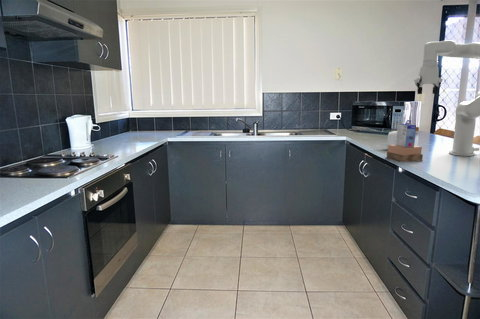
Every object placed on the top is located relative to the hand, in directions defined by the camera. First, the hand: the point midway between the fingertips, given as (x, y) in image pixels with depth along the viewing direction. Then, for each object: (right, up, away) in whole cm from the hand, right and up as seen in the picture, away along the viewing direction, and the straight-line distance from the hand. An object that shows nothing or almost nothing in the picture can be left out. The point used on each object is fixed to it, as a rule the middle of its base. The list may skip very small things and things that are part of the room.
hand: (427, 93), depth 187 cm
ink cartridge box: (-19, -32, -10) cm, 39 cm away
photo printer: (-8, -33, +23) cm, 41 cm away
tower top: (-19, -36, -10) cm, 42 cm away
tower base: (-19, -40, -9) cm, 45 cm away
